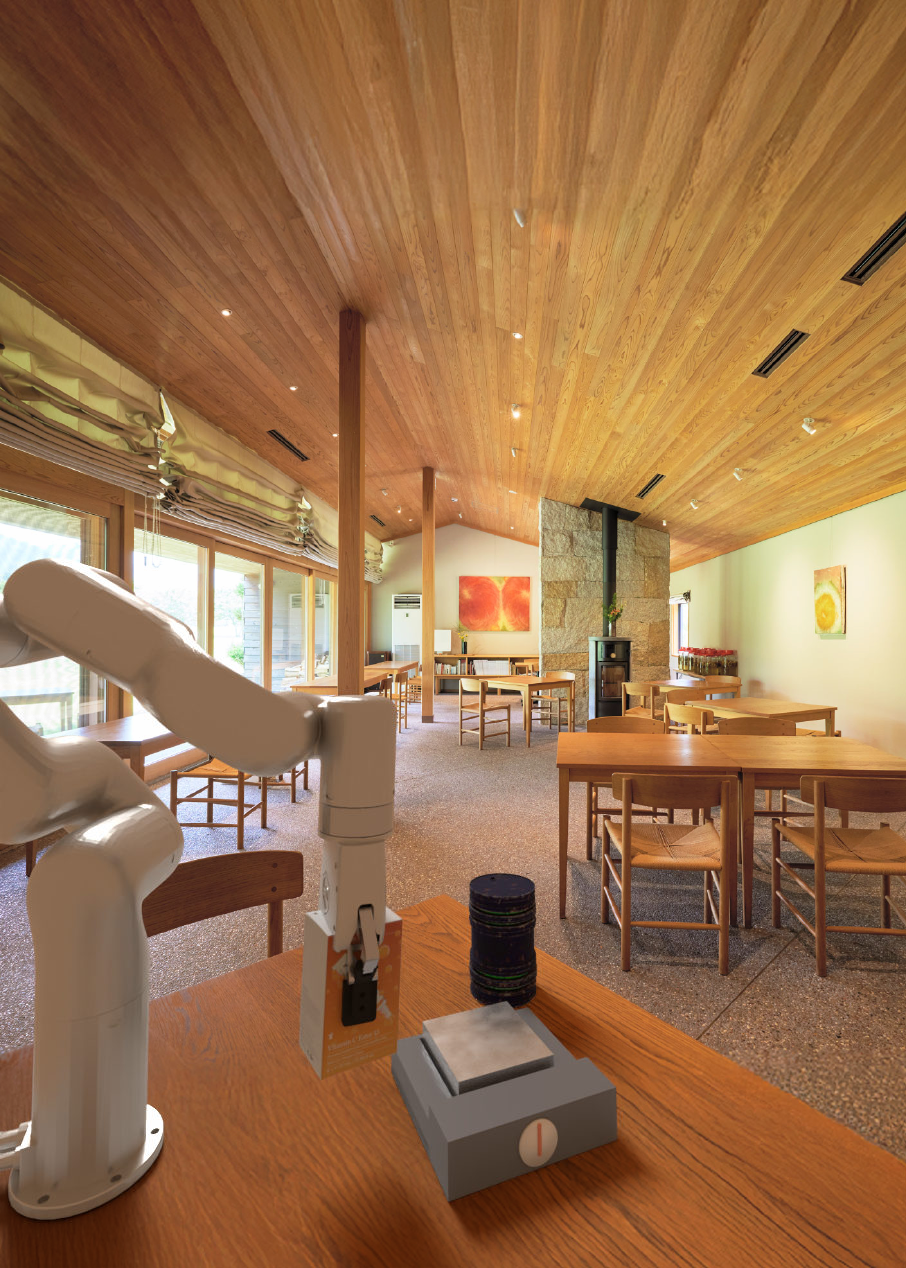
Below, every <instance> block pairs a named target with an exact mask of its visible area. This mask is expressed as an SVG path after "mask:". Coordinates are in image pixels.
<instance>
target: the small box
mask: <svg viewBox="0 0 906 1268" xmlns="http://www.w3.org/2000/svg"><path fill="white" fill-rule="evenodd" d="M303 926H304V927H303V946H302V947H303V950H302V951H303V953H302V968H301V969H302V970H301V971H302V972H301V986H300V987H301V988H300V1006H299V1007H300V1009H299V1010H300V1012H299V1032H298V1033H299V1036H298V1037H299V1038H298V1039H299V1040H298V1045H299V1047H300V1049H301V1050H302V1052H303V1054H304V1056H305V1057H306V1058H307V1060H308V1062H309V1063H310V1065H311V1067H312V1068H313V1070H314V1071H315V1073H316V1075H317V1076H318V1078H319V1079H320V1080H321V1081H323V1080H326V1079H329V1078H330V1077H333V1076H335V1075H338V1074H340V1073H344V1072H347V1071H349V1070H352V1069H355V1068H358V1067H360V1066H363V1065H365V1064H369V1063H371V1062H374V1061H376V1060H379V1059H382V1058H385V1057H389V1056H391V1055H393V1054H396V1053H397V1043H398V1040H399V1038H398V1037H399V1016H400V994H401V993H400V990H401V989H400V987H401V966H402V965H401V963H402V946H403V945H402V942H403V941H402V940H403V918H402V917H401V916H399V915H398V914H397V913H395V912H394V911H393V910H391V909H390V907H388V906H386V919H385V933H384V940H383V942H382V943H381V945H380V946H378V949H379V961H378V964H377V966H378V984H377V1014H376V1019H375V1020H374V1021H372V1022H368V1023H363V1024H358V1025H353V1026H348V1027H344V1026H343V1024H342V1021H341V1016H342V988H343V980H345V979H346V950H341V951H340V953H336V952H335V951H333V950H332V933H331V931H330V929H329V927H328V925H327V923H326V921H325V919H324V916H323V914H322V912H321V910H318V909H317V910H314V911H308V912H305V914H304V925H303ZM375 932H376V931H375ZM376 935H377V933H376ZM378 936H379V934H378ZM354 944H361V942H360V935H356V932H355V933H354V936H353V938H352V941H351V945H354ZM361 953H362V951H358V952H353V960H354V966H355V964H356V962H357V960H361Z"/></svg>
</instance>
